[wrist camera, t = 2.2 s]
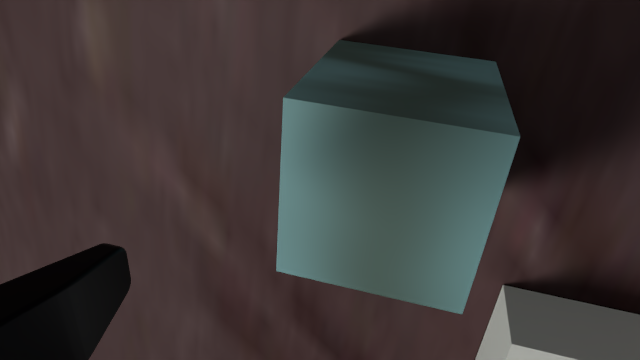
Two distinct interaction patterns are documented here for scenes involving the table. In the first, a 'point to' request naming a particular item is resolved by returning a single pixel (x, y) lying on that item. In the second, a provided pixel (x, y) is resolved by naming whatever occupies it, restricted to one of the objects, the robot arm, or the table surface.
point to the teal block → (393, 171)
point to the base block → (557, 329)
